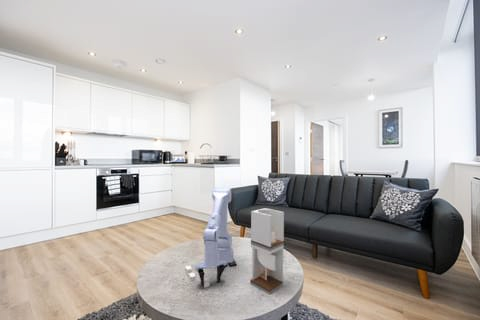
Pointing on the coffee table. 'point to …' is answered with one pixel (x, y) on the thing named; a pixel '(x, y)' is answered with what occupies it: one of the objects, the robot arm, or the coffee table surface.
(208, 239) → the robot arm
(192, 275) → the switch
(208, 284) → the switch
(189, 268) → the switch
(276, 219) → the white wooden shelf tower
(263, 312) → the coffee table surface
